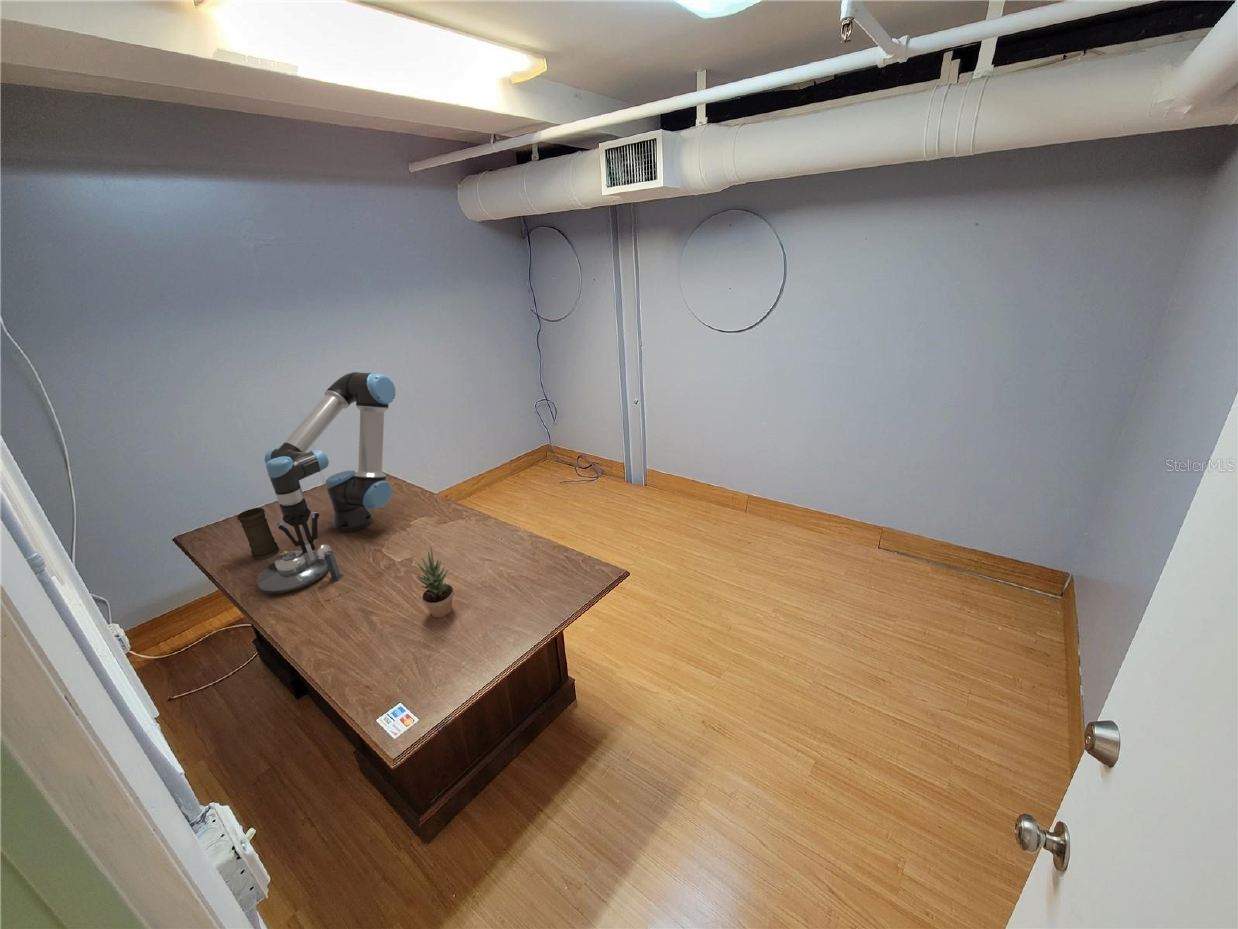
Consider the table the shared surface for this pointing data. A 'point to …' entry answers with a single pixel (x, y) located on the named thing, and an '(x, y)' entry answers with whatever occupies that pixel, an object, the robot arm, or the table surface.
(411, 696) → the table surface
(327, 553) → the dial stand
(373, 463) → the robot arm
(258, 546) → the container
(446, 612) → the potted plant
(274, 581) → the turntable
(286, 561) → the cover
